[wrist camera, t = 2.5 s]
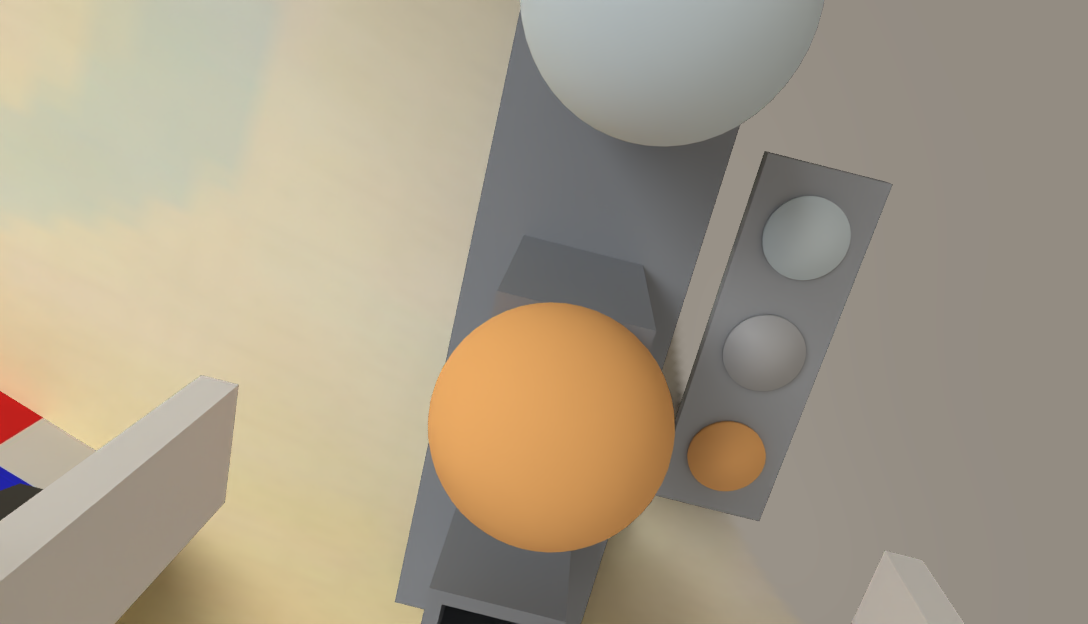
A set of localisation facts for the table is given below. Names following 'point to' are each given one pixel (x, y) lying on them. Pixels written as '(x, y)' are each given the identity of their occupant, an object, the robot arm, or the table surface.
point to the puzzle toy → (34, 447)
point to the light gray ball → (668, 61)
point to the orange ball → (551, 427)
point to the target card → (769, 331)
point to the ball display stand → (560, 277)
